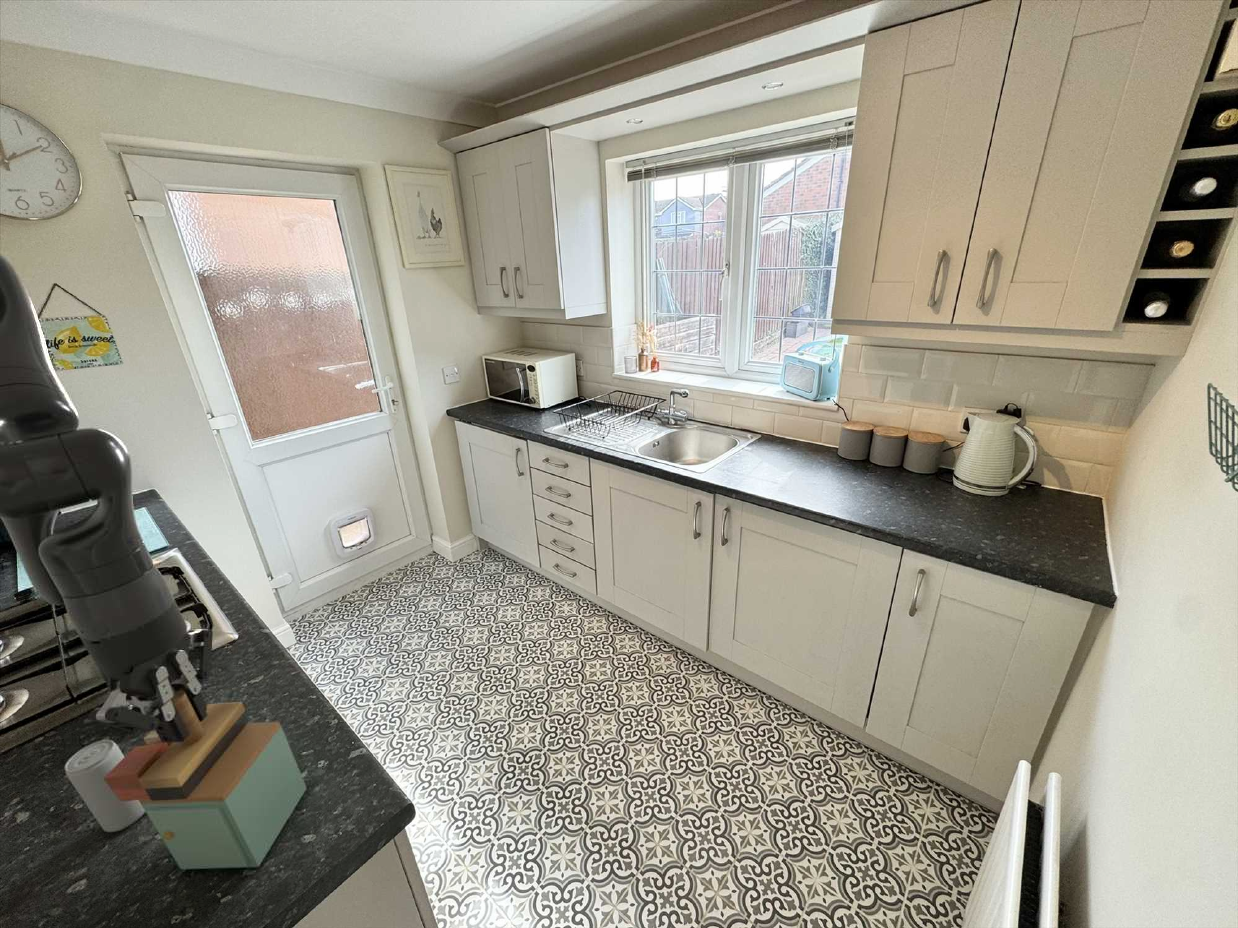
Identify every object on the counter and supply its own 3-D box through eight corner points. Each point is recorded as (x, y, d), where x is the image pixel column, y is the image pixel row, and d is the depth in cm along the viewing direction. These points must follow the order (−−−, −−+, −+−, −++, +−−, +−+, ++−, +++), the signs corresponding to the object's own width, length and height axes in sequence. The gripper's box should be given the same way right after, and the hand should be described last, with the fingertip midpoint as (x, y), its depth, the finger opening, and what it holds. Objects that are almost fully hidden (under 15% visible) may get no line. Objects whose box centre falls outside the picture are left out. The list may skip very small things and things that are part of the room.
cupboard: (239, 790, 70) (206, 724, 65) (307, 787, 70) (279, 721, 65) (174, 877, 60) (130, 806, 55) (253, 874, 59) (216, 803, 55)
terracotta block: (151, 769, 59) (135, 746, 58) (182, 765, 59) (166, 742, 58) (120, 802, 56) (102, 778, 54) (153, 797, 56) (135, 774, 54)
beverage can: (160, 799, 69) (125, 739, 65) (125, 835, 65) (84, 773, 60) (130, 797, 70) (94, 737, 65) (94, 833, 65) (51, 771, 61)
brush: (250, 721, 65) (224, 663, 61) (187, 798, 55) (152, 736, 52) (218, 722, 65) (190, 665, 61) (149, 801, 55) (111, 738, 52)
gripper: (151, 576, 58) (203, 685, 65) (19, 661, 46) (100, 786, 52) (212, 573, 58) (258, 682, 65) (96, 658, 45) (168, 784, 52)
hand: (187, 728), depth 58 cm, fingers closed on brush, 2 cm apart
